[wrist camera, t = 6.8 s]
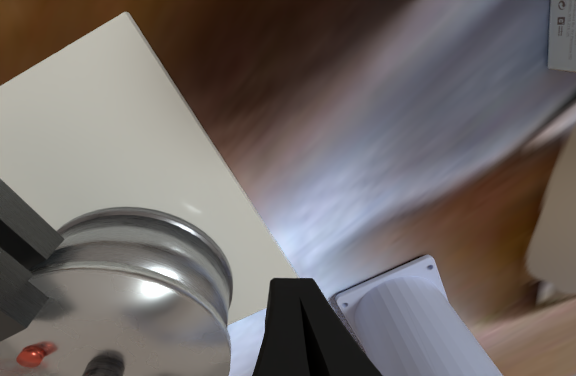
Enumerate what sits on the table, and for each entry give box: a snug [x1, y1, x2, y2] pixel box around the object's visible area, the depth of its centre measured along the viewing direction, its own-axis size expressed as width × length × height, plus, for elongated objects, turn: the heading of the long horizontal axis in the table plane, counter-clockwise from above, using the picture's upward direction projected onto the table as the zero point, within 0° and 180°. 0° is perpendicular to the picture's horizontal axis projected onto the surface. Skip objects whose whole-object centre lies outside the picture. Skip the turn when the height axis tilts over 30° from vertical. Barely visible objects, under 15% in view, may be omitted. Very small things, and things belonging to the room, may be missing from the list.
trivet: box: [0, 12, 299, 325], centre depth 20 cm, size 20×17×1 cm
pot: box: [0, 179, 233, 327], centre depth 18 cm, size 22×12×5 cm, turn 26°
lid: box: [0, 248, 231, 376], centre depth 15 cm, size 21×13×2 cm, turn 27°
